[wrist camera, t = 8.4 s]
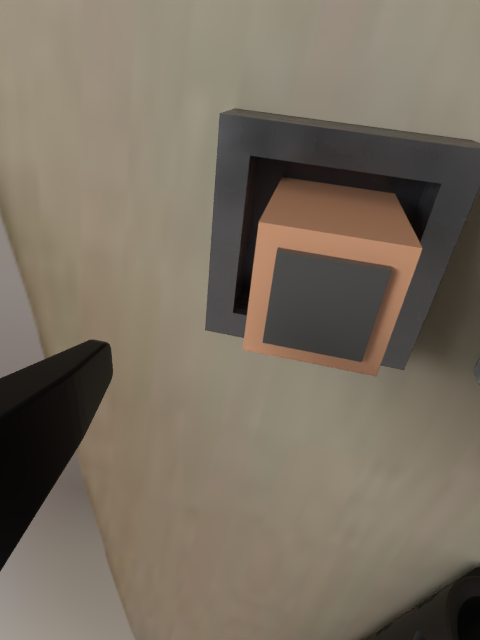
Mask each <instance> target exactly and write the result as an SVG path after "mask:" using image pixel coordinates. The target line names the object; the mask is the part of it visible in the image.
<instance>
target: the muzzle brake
mask: <svg viewBox="0 0 480 640" xmlns="http://www.w3.org/2000/svg"><path fill="white" fill-rule="evenodd" d="M366 640H480V569H478V568H476V569H474V570H472V571H471V572H469V573H468V574H466V575H465V576H463V577H462V578H460V579H458V580H457V581H455V582H454V583H452V584H451V585H449V586H448V587H446V588H445V589H443V590H441V591H440V592H438V593H437V594H435V595H434V596H432V597H431V598H429V599H427V600H426V601H424V602H423V603H421V604H420V605H418V606H417V607H415V608H413V609H412V610H410V611H409V612H407V613H406V614H404V615H403V616H401V617H400V618H399V619H397V620H396V621H395V622H393V623H391V624H389V625H388V626H386V627H384V628H383V629H382V630H380V631H379V632H377V633H375V634H374V635H372V636H371V637H369V638H368V639H366Z"/></svg>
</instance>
